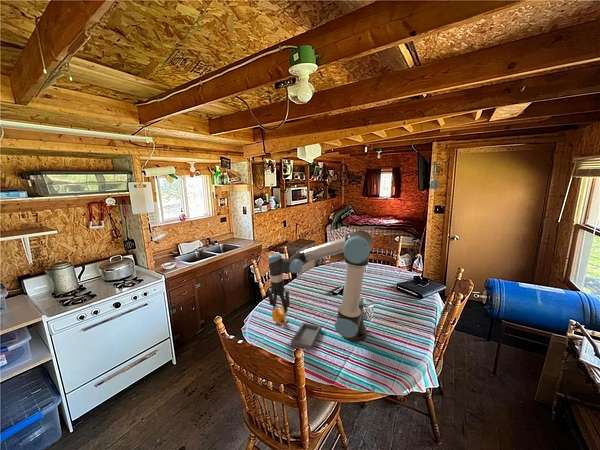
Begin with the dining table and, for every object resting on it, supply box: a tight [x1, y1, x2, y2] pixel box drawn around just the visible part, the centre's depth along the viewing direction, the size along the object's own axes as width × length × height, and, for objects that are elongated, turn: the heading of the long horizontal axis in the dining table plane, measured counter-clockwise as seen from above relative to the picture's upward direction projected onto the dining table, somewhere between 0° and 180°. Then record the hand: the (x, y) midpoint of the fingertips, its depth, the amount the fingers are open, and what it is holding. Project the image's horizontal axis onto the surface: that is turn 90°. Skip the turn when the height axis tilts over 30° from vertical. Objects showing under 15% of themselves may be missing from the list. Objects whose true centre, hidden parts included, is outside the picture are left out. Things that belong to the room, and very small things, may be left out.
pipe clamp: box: [271, 303, 289, 323], centre depth 146 cm, size 12×4×6 cm, turn 149°
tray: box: [290, 321, 322, 351], centre depth 144 cm, size 12×18×3 cm, turn 157°
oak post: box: [275, 309, 289, 327], centre depth 159 cm, size 6×6×8 cm
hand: (281, 316), depth 147 cm, fingers closed on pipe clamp, 5 cm apart
